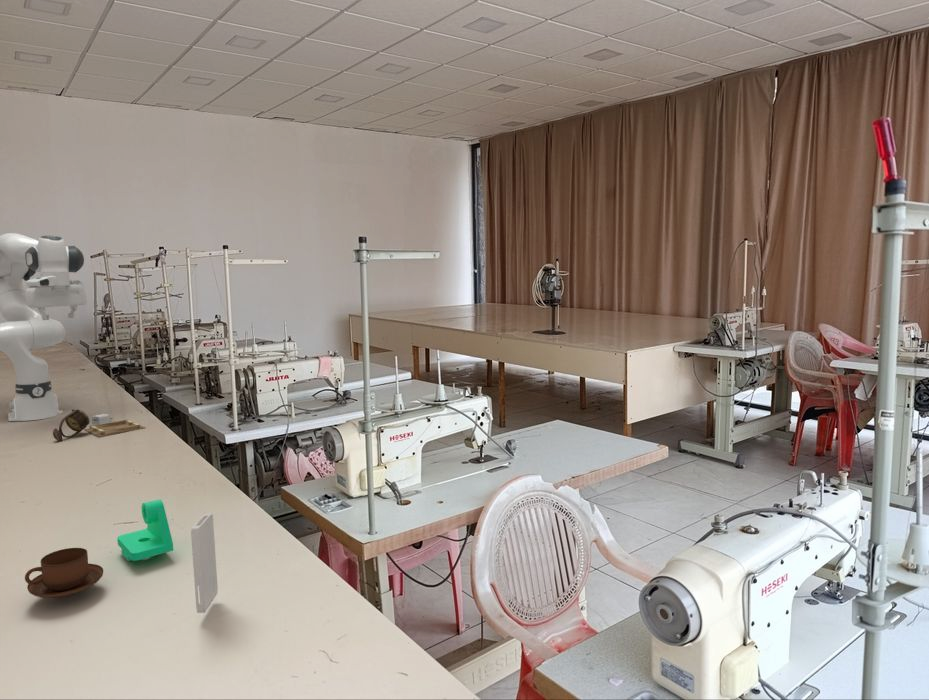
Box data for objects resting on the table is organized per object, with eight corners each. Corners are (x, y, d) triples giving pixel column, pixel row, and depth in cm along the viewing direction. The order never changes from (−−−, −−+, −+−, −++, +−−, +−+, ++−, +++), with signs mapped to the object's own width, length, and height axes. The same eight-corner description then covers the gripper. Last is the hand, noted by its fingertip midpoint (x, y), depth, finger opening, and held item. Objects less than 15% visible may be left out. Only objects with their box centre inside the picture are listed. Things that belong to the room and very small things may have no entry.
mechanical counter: (95, 433, 237) (93, 406, 236) (71, 443, 224) (68, 414, 223) (76, 433, 238) (74, 406, 236) (51, 443, 225) (48, 414, 224)
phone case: (210, 593, 118) (205, 512, 116) (218, 592, 118) (213, 512, 116) (196, 614, 111) (190, 529, 109) (204, 614, 111) (198, 528, 109)
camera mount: (117, 548, 138) (113, 501, 137) (155, 538, 143) (151, 492, 142) (133, 566, 129) (129, 516, 128) (173, 555, 134) (170, 506, 133)
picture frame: (84, 432, 240) (84, 426, 240) (130, 424, 251) (130, 418, 251) (98, 438, 230) (98, 432, 229) (146, 430, 241) (145, 424, 241)
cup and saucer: (49, 611, 113) (46, 577, 112) (15, 593, 119) (11, 561, 118) (117, 582, 123) (114, 550, 122) (82, 567, 129) (80, 537, 128)
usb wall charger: (92, 426, 249) (91, 416, 248) (108, 422, 255) (107, 412, 255) (100, 427, 248) (99, 416, 247) (115, 423, 254) (114, 412, 253)
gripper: (77, 280, 248) (81, 316, 250) (21, 281, 230) (25, 321, 232) (88, 280, 245) (91, 317, 247) (31, 281, 227) (35, 321, 229)
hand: (59, 319), depth 239 cm, fingers open, 8 cm apart
